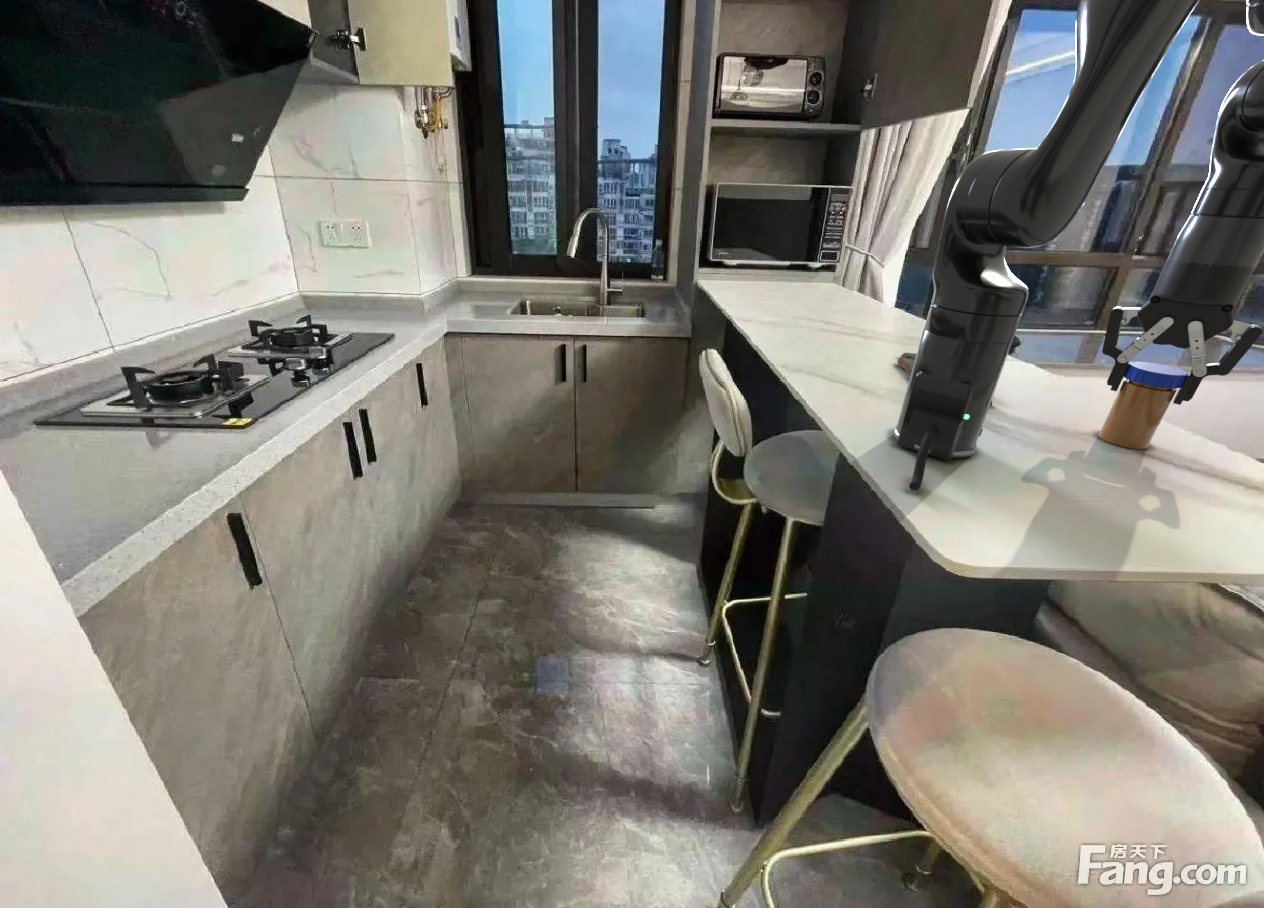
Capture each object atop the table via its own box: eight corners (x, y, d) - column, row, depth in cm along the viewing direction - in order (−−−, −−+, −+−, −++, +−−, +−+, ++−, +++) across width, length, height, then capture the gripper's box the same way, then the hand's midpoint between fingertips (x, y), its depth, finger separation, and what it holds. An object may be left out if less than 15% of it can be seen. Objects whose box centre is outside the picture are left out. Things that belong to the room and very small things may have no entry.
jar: (1146, 452, 70) (1182, 383, 66) (1096, 440, 73) (1127, 373, 69) (1148, 441, 73) (1182, 374, 69) (1100, 429, 76) (1130, 365, 72)
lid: (1117, 371, 73) (1123, 359, 72) (1173, 379, 70) (1179, 366, 70) (1129, 383, 68) (1135, 370, 67) (1189, 391, 66) (1196, 378, 65)
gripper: (1129, 254, 65) (1072, 388, 72) (1307, 269, 56) (1222, 420, 63) (1134, 251, 69) (1081, 376, 77) (1299, 264, 61) (1220, 404, 68)
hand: (1145, 395), depth 70 cm, fingers closed on lid, 5 cm apart
